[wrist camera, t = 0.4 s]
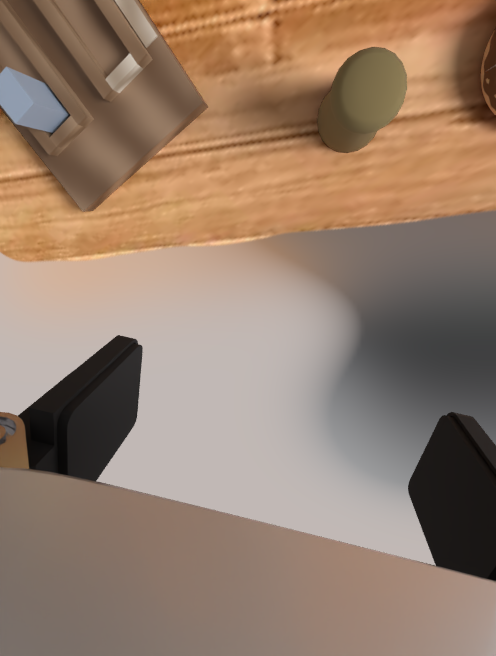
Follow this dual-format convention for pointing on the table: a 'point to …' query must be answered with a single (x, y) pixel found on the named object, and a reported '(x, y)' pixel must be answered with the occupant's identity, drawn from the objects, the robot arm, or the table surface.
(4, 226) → the table surface
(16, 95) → the slate-blue tab
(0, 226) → the table surface
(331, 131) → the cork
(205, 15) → the table surface
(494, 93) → the donut
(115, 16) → the switch board
